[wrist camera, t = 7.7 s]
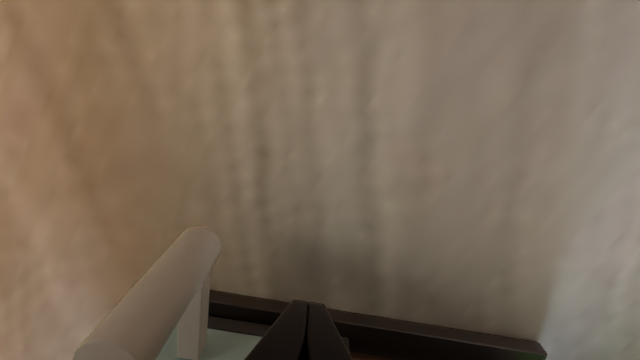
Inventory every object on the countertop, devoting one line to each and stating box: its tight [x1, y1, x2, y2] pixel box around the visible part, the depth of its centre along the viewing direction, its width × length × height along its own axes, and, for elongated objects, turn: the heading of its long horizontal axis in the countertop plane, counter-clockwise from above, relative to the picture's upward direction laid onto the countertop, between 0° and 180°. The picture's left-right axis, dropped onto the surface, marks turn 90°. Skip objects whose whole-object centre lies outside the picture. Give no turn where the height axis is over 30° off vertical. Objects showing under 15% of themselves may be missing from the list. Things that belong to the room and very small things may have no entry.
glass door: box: [73, 226, 350, 360], centre depth 10 cm, size 6×9×7 cm, turn 81°
